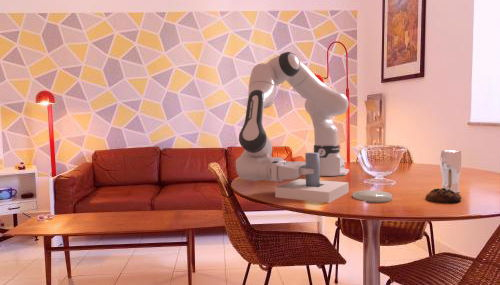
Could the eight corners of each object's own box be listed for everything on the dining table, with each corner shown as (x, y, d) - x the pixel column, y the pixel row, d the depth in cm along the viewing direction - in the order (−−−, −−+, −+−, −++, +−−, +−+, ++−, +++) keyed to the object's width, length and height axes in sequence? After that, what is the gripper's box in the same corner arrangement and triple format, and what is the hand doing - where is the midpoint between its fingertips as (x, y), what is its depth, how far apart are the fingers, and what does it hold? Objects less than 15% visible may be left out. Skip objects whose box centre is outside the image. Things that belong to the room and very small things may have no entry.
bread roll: (445, 204, 128) (443, 189, 129) (418, 202, 139) (417, 188, 139) (469, 202, 133) (468, 187, 133) (442, 200, 143) (441, 186, 143)
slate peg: (309, 192, 150) (308, 152, 149) (321, 193, 147) (321, 152, 146) (303, 195, 146) (303, 153, 145) (316, 196, 143) (316, 154, 142)
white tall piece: (444, 189, 154) (444, 149, 153) (463, 191, 149) (464, 150, 148) (436, 191, 149) (437, 151, 148) (457, 194, 144) (457, 152, 143)
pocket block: (299, 188, 160) (299, 178, 160) (348, 193, 150) (348, 182, 150) (275, 198, 144) (275, 187, 143) (328, 204, 133) (328, 192, 133)
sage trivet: (359, 193, 149) (359, 189, 149) (395, 196, 142) (395, 192, 142) (347, 200, 138) (347, 195, 138) (386, 204, 131) (386, 199, 131)
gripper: (283, 173, 160) (318, 174, 156) (271, 182, 140) (311, 183, 136) (283, 157, 159) (318, 157, 155) (270, 164, 140) (310, 164, 136)
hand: (315, 169), depth 146 cm, fingers closed on slate peg, 5 cm apart
